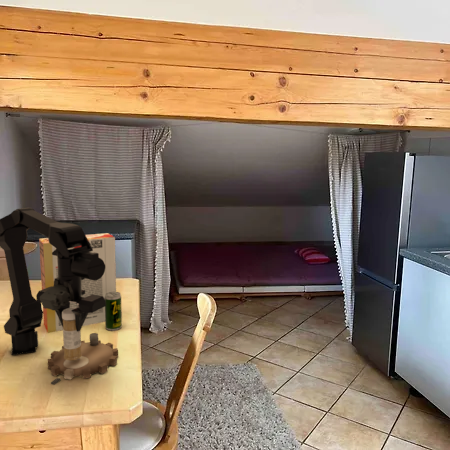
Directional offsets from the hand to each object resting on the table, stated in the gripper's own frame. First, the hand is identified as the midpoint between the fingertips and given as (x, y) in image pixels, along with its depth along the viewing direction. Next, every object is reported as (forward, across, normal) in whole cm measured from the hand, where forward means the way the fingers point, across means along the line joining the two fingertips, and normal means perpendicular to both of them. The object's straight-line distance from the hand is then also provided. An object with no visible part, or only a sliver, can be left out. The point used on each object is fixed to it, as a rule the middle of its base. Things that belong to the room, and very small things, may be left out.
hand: (71, 329), depth 111 cm
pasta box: (+12, -21, +26) cm, 36 cm away
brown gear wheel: (+12, 0, +4) cm, 13 cm away
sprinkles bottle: (+8, 0, 0) cm, 8 cm away
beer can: (+12, -7, +27) cm, 31 cm away
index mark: (+12, 0, -7) cm, 13 cm away
